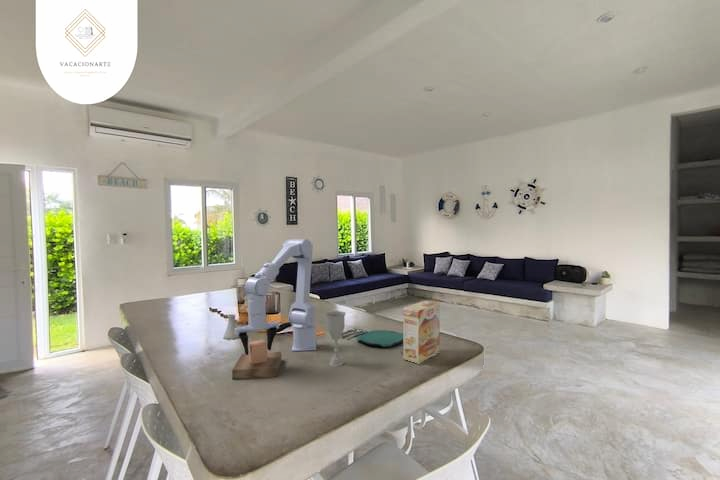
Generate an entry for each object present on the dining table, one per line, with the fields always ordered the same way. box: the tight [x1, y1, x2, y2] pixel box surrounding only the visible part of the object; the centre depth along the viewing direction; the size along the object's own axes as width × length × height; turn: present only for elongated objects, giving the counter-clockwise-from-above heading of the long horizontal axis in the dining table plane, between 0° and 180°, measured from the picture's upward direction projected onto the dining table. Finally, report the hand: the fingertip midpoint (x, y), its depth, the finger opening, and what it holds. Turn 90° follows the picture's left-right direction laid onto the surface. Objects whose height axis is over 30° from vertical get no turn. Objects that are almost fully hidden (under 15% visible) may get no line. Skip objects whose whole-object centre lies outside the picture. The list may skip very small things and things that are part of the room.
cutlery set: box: [340, 328, 403, 348], centre depth 150 cm, size 20×30×2 cm, turn 52°
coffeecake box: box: [402, 300, 441, 365], centre depth 129 cm, size 15×7×20 cm, turn 137°
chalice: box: [325, 310, 347, 367], centre depth 123 cm, size 7×7×18 cm
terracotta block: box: [248, 339, 268, 364], centre depth 120 cm, size 5×5×6 cm
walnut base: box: [231, 351, 282, 380], centre depth 120 cm, size 14×14×3 cm
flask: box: [223, 313, 240, 340], centre depth 154 cm, size 7×7×10 cm
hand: (258, 351), depth 119 cm, fingers open, 7 cm apart
